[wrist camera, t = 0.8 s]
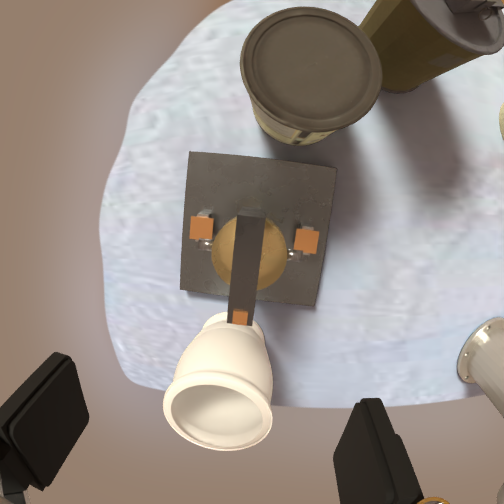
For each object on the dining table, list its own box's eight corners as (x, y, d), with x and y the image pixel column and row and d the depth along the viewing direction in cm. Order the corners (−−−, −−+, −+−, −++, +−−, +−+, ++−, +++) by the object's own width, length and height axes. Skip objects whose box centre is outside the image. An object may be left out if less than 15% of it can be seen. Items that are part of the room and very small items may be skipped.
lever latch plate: (333, 168, 34) (354, 168, 25) (312, 299, 38) (323, 336, 29) (193, 152, 34) (169, 147, 25) (184, 283, 38) (161, 315, 30)
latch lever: (307, 210, 26) (321, 225, 19) (294, 294, 28) (301, 333, 21) (204, 198, 26) (182, 209, 19) (198, 282, 28) (177, 317, 21)
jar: (286, 353, 40) (291, 435, 26) (220, 379, 42) (203, 459, 27) (247, 289, 38) (234, 359, 24) (179, 322, 40) (139, 394, 25)
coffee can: (285, 47, 30) (293, -15, 16) (357, 97, 31) (405, 62, 18) (232, 112, 33) (210, 78, 19) (307, 164, 34) (332, 161, 20)
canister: (372, 103, 31) (468, 51, 12) (334, 29, 29) (384, -70, 10) (439, 83, 30) (544, 43, 10) (403, 15, 27) (479, -59, 8)
